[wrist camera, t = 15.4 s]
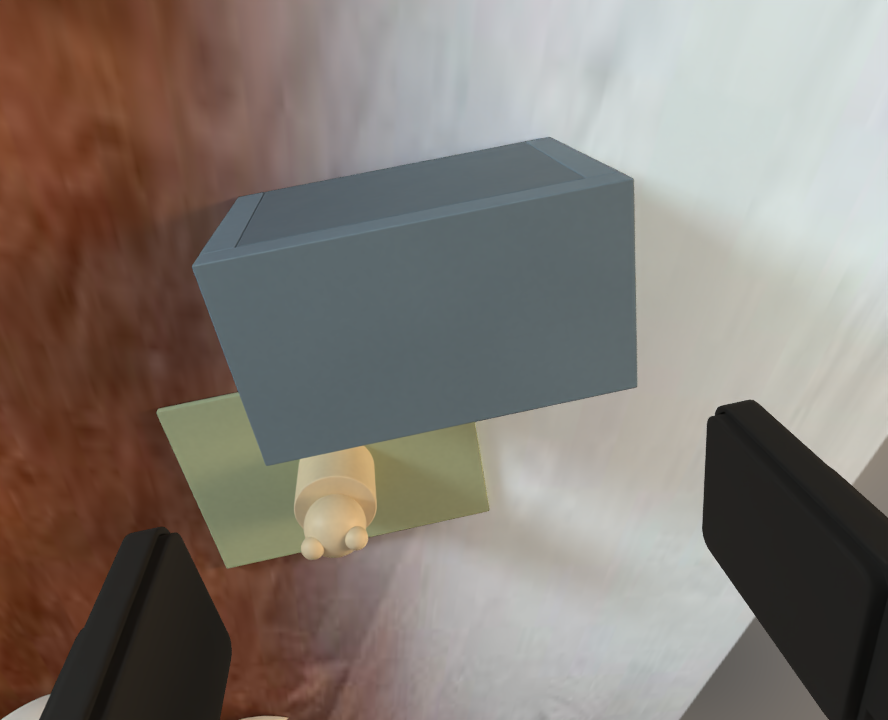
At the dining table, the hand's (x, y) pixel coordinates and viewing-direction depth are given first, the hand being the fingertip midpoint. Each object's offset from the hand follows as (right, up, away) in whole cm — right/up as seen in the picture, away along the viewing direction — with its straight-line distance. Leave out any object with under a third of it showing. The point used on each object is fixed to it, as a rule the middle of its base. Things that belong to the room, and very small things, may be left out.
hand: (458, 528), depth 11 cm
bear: (-8, -4, +33) cm, 34 cm away
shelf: (-2, +10, +27) cm, 29 cm away
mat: (-8, -4, +33) cm, 34 cm away
